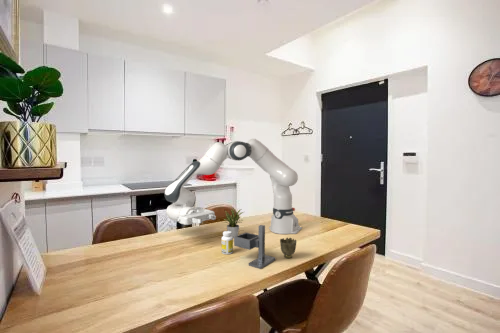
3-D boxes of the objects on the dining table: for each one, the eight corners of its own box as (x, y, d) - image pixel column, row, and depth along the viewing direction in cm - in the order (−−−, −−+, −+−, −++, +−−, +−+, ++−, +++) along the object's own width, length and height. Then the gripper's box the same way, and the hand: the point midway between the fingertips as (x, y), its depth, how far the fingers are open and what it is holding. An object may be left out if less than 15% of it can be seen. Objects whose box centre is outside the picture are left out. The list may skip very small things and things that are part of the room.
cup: (283, 261, 118) (283, 243, 117) (277, 255, 125) (277, 238, 124) (299, 259, 120) (299, 241, 119) (292, 253, 127) (292, 236, 126)
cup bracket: (247, 252, 128) (248, 219, 127) (275, 259, 119) (275, 224, 118) (231, 260, 118) (231, 224, 118) (260, 269, 109) (260, 230, 109)
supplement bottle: (233, 250, 131) (233, 230, 130) (232, 254, 125) (232, 233, 125) (221, 250, 130) (221, 230, 130) (221, 254, 125) (221, 233, 125)
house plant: (249, 233, 159) (249, 205, 159) (246, 240, 146) (246, 210, 145) (225, 232, 161) (225, 205, 160) (220, 239, 147) (220, 210, 146)
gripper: (173, 212, 134) (192, 216, 126) (203, 207, 150) (221, 210, 142) (173, 225, 134) (192, 230, 126) (203, 218, 151) (221, 222, 142)
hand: (208, 219), depth 134 cm, fingers open, 8 cm apart
